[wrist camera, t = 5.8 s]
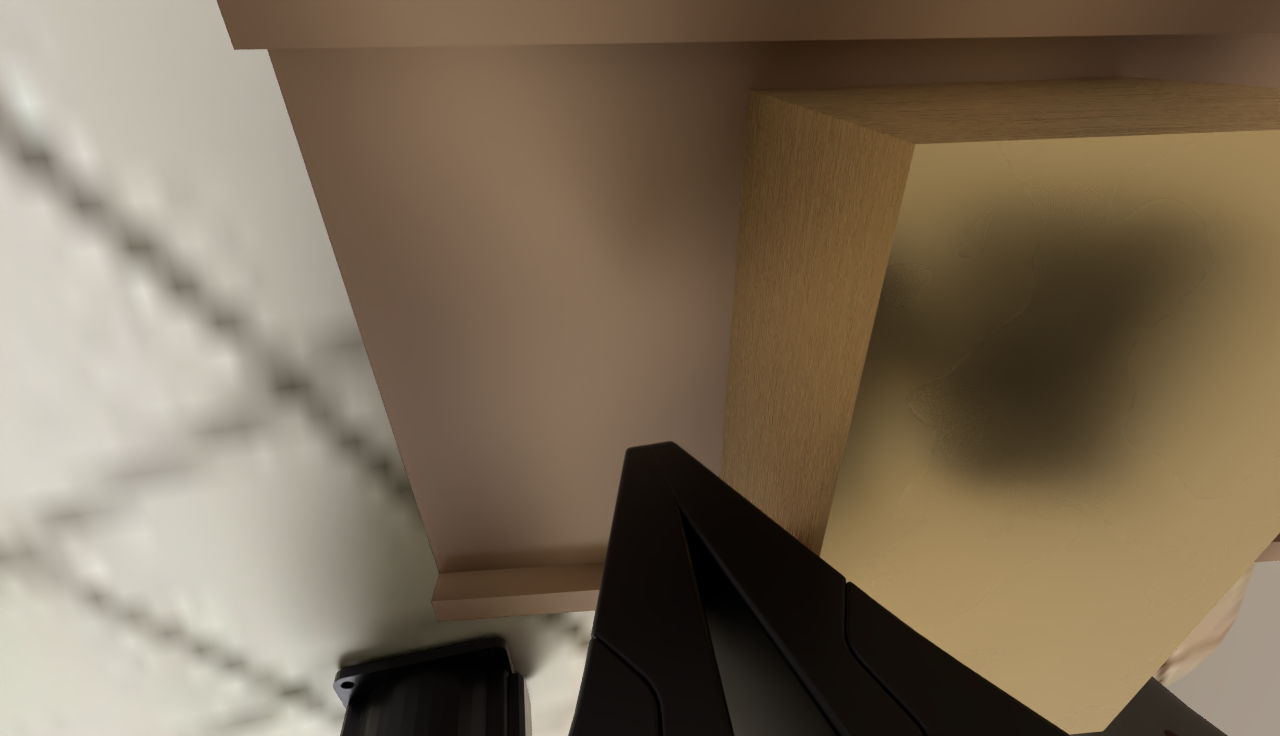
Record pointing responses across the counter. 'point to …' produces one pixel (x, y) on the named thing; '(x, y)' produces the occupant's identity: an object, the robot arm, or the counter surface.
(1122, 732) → the sundae
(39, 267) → the counter surface
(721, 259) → the wooden tray
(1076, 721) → the tan wood-grain block
